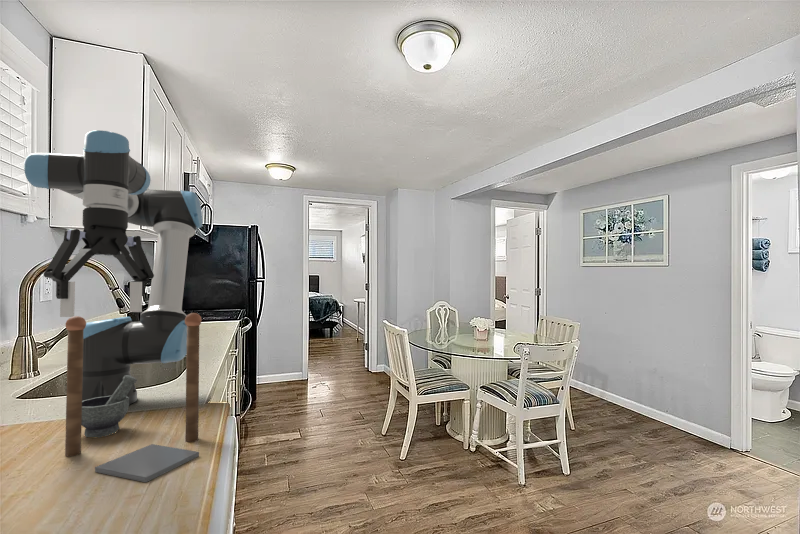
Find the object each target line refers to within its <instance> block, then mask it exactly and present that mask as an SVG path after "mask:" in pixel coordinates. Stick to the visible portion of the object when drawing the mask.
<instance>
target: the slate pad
mask: <svg viewBox="0 0 800 534" xmlns="http://www.w3.org/2000/svg"><path fill="white" fill-rule="evenodd" d="M199 457H200V451H195V450H191V449H183V448H180V447H172V446H167V445H160V444H154V443H151V444H149V445H146V446H144V447H141V448H139V449H136V450H134V451H131V452H129V453H126V454H124V455H122V456H119V457H116V458H114V459H112V460H109V461H107V462H104V463H102V464H99V465H97V466H95V467H94V472H95V473H99V474H103V475H108V476H113V477H116V478H117V477H118V478H124V479H128V480H133V481H137V482H142V483H147V482H149V481H152V480H154V479H155V478H157V477H160V476H162V475H163V474H166V473H168V472H169V471H171V470H174V469H176V468H178V467H180V466H181V465H184V464H186V463H188V462H189V461H192V460H194V459H196V458H199Z"/></svg>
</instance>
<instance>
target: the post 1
mask: <svg viewBox="0 0 800 534" xmlns="http://www.w3.org/2000/svg"><path fill="white" fill-rule="evenodd" d="M86 323H87V320H86V319H85V318H84V317H82V316H80V315H74V317H68V319H67V320H66V322H65V328H66V330H67V352H66V353H67V358H66V359H67V360H66V366H67V367H66V399H65V400H66V401H65V403H66V405H65V409H66V410H65V440H64V441H65V444H64V446H65V450H64V457H75V456H79V455H80V454H81V453H82V427H83V426H82V380H83V332H84V328H85V327H86Z"/></svg>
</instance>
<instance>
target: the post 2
mask: <svg viewBox="0 0 800 534" xmlns="http://www.w3.org/2000/svg"><path fill="white" fill-rule="evenodd" d="M186 315H187V316H186V318H185V324H186V326H187V348H186V355H185V357H186V359H185V361H186V363H185V364H186V365H185V366H186V367H185V437H184V438H185V442H187V443H191V442H192V441H193V442H196V441H198V440H199V418H200V417H199V413H200V410H199V406H200V405H199V403H200V402H199V399H200V325H201V324H202V316H201V315H200V314H199V313H197V312H191V313H188V314H186Z"/></svg>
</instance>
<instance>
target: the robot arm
mask: <svg viewBox="0 0 800 534" xmlns="http://www.w3.org/2000/svg"><path fill="white" fill-rule="evenodd" d="M83 144H84V145H83V148H82V151H83V155H82V154H67V153H51V152H34V153H30V154H29V155H27V156H26V158H25V160H24V166H23V167H24V168H23V170H24V171H23V172H24V175H25V177H26V180H27V181H28V183H30V185H31V186H33V187H35V188H39V189H40V188H41V189H46V190H51V189H54V190H55V189H56V190H60V191H63V192H65V193H67V194H69V195H71V196H74V197H77V198H78V199H81V200H82V205H83V206H84V207H86V208H84V209H83V210H82V226H83V231H81V230H80V229H78V228H70V229H65V231H64V237H63V240H62V241H61V242H62V243H61V245H59V248H57V251H56V252H55V255H54V256H53V257H52V259H51V261H50V263H49V264H48V266H47V267H46V269H45V270H44V272H43V277H44V278H46V279H50V280H52V281H53V282H55V283H56V285H55V287H56V289H55V297H56V299H57V300H58V299H59V301H60V306H59V307H60V308H59V309H60V310H59V317H60V318H71V317H74V316H75V304H76V303H75V300H76V298H75V297H76V293H75V292H76V281H70V280H71V279H72V278H74V276H75V275H76V274H77V273H78V272H79V271H80V270H81V269H82V268H83V266H85V264H87V263H88V262H89V260H91V258H92V257H93V256H95V255H97V256H101V255H102V256H103V255H104V256H113V257H114V258H115V259H117V261H118V262H119V263H120V265H121V266H122V267H123V268H124V269H125V270H126V272H127V274H128V275H129V276H130V277H131V278H132V280H133V281H130V282H129V313H141V314H140V318H139V321H133V319H132V318H131V316H124V317H123V316H122V317H116V318H115V317H114V318H109V319H108V318H107V319H102V320H96V321H94V320H93V321H88V322H86V327H85V328H84V332H83V380H82V401H83V400H88V399H92V398H96V397H104V396H111V395H112V394H113V393H114V392H115V390H116V389H117V388H118V386H119V385H120V383H121V382H122V381H123V377H124V376H125V375H129V376H132V374H131V365H140V364H142V365H143V364H160V363H161V364H168V363H174V362H175V363H176V362H180V361H182V360H183V359H184V358H185V357H186V348H187V326H186V324H185V318H186V316H187V315H188V314H186V313H185V312H184V311H183V301H184V300H183V299H184V291H185V289H184V288H185V282H186V281H185V279H186V271H187V261H188V254H189V253H188V251H189V244H190V243H189V242H190V239H191V238H192V237H193V236H195V235H196V229H201V228H202V227H203V213H202V212H203V211H202V206H201V203H200V199H199V197H198V194H196V193H195V192H194V191H190V190H189V191H188V190H183V189H181V190H166V189H149V187H150V186H151V181H152V180H151V176H150V172H149V171H148V170H147V169H146V167H144V165H143V164H142V163H140V162H139V161H137V160H136V159H134V158H132V156H131V155H130V153H131V149H130V141H129V139H128V138H127V137H126V136H124V135H122V134H120V133H118V132H113V131H108V130H90V131H88V132H87V133H86V134H85V135H84V143H83ZM129 224H131V225H135V226H140V227H149V228H152V229H153V231H154V232H155V233H156V234H157V240H156V246H155V254H154V261H153V268H151V264H150V262H149V260H148V258H147V256H146V253H145V251H144V249H143V246H142V238H141V236H139V235H131V236H129V235H128V236H127V233H126V232H127V229H128V228H129ZM81 241H83V242H84V245H83V246H82V247H80V248H79V250H78V253H77V254H75V256H74V257H72V255H73V253H74V251H75V250H76V248H77V246H78V244H79V242H81ZM125 245H126V246H128V248H127V247H126V246H125ZM71 257H72V259H71V260H70V258H71ZM69 260H70V261H69ZM152 269H153V270H152ZM150 279H151V283H150V291H149V299H148V306H147V309H146V310H144V311H143V297H144V296H145V293H146V292H145V291H146V282H149V281H150ZM127 397H129V405H131V404H134V403H136V402H137V400H138V390H137V388H136V384H135V383H134V384H133V385H132V387H131V389H130V391H129V393H128V394H127Z"/></svg>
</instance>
